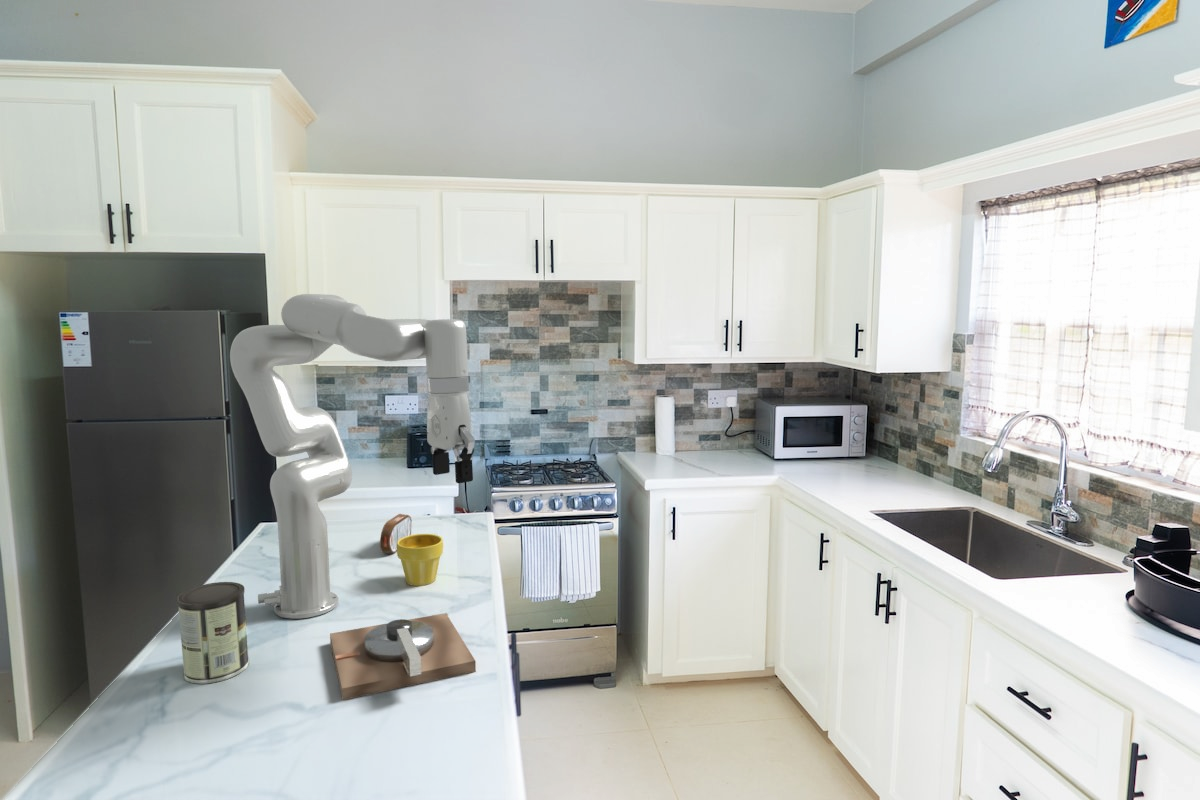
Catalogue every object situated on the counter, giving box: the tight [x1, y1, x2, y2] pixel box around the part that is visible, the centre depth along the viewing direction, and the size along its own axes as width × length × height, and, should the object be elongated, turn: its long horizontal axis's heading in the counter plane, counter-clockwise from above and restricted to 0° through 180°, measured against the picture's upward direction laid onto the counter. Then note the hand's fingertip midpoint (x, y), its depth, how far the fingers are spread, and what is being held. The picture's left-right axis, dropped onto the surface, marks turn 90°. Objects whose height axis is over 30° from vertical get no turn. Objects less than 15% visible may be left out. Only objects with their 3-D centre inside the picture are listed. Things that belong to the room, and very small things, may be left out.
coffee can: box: [176, 581, 250, 685], centre depth 126 cm, size 10×10×14 cm
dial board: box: [329, 612, 477, 701], centre depth 131 cm, size 22×22×2 cm
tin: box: [379, 513, 413, 554], centre depth 191 cm, size 15×3×8 cm, turn 172°
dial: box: [365, 619, 434, 676], centre depth 127 cm, size 21×12×4 cm, turn 25°
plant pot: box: [396, 533, 444, 587], centre depth 168 cm, size 10×10×10 cm
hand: (452, 477), depth 135 cm, fingers open, 9 cm apart
